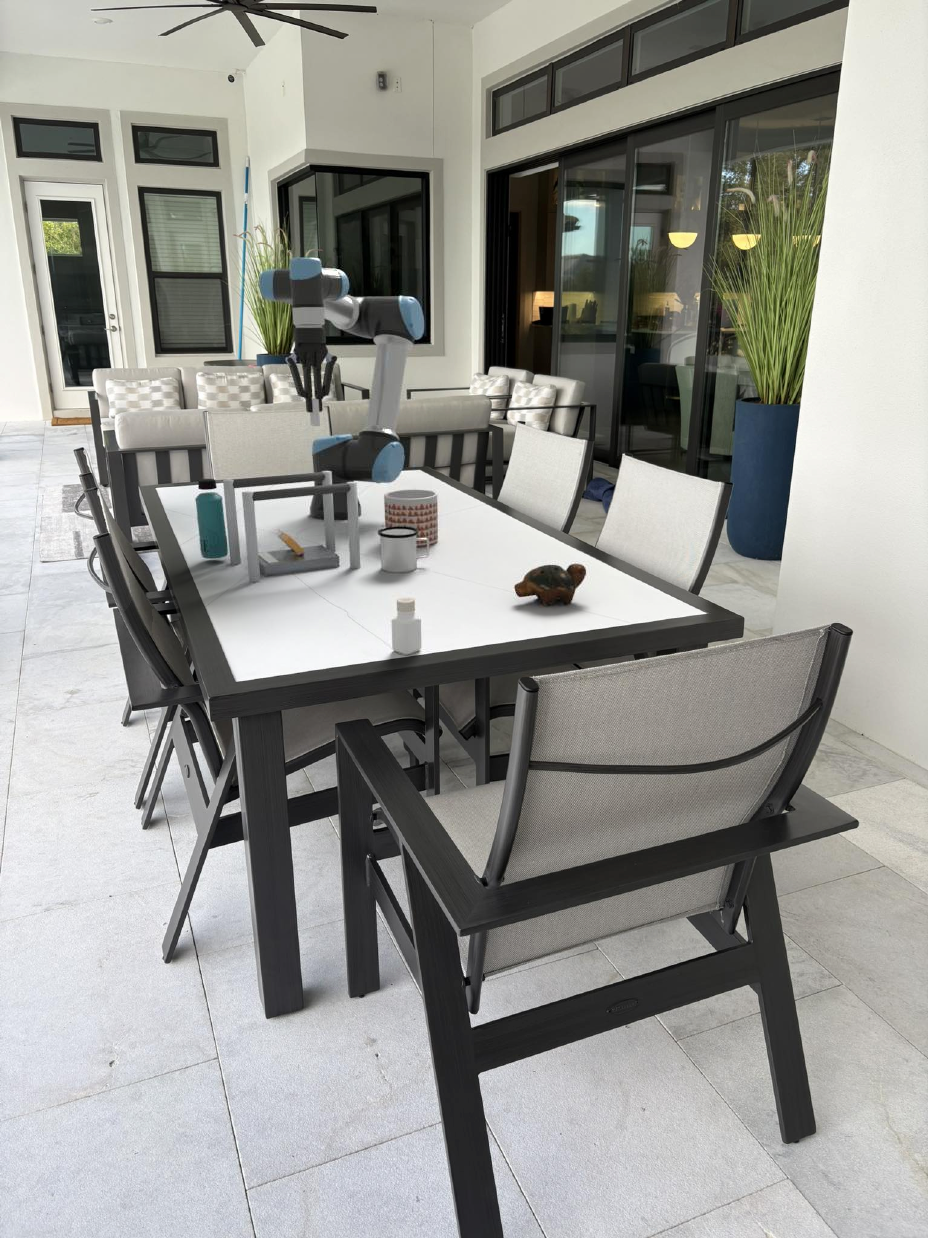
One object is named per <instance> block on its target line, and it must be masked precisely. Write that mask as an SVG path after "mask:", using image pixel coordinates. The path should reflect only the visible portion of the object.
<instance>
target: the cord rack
mask: <svg viewBox="0 0 928 1238" xmlns="http://www.w3.org/2000/svg"><path fill="white" fill-rule="evenodd" d="M314 481H322V486H314V485H313V486H302V487H291V488H280V489H279V488H278V489H269V490H268V489H267V490H260V491H259V490H258V491H242V492H241V495H242V496H241V498H242V508H243V509H242V510H243V519H244V520H243V521H244V533H245V543H246V544H245V545H246V555H247V557H246V558H247V568H248V578H249V579H248V580H249V583H259V582H261V572H260V569H259V557H258V553H259V549H258V545H259V544H258V534H257V533H258V532H257V522H256V510H255V502H260V501H261V502H262V501H267V500H268V501H269V500H280V499H289V498H300V497H308V496H309V497H311V496H312V497H313V495H322V494H323V507H324V519H323V523H324V539H325V547H326V548H328V549H329V550H331V551H332V552H334V553H335V552H336V537H335V536H336V534H335V533H336V532H335V520H334V511H333V493H342V492H347V508H348V519H347V528H348V529H347V530H348V546H349V547H348V548H349V549H348V550H349V551H348V552H349V568H351V569H360V568H361V550H360V549H361V548H360V547H361V545H360V528H359V527H360V526H359V525H360V524H359V516H358V499H359V498H357V497H358V481H354V482H347V483H343V484H333V485H332V473H331V471H322V472H318V473H314V472H308V473H296V474H286V475H285V474H283V475H274V476H273V475H272V476H263V477H251V478H250V477H249V478H238V479H227V478H226V479H222V484H223V496H224V505H225V516H226V529H227V538H228V539H227V541H228V552H229V558H230V559H229V560H230V564H231V565H233V566H234V565H236V566H237V565H240V564H242V560H241V550H240V539H239V538H240V537H239V535H240V534H239V526H238V516H237V515H238V512H237V503H236V491H235V489H240V488H241V489H243V488H252V487H253V488H256V487H264V486H265V487H266V486H275V485H287V484H288V485H289V484H298V483H311V482H314Z"/></svg>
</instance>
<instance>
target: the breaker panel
mask: <svg viewBox="0 0 928 1238" xmlns="http://www.w3.org/2000/svg"><path fill="white" fill-rule="evenodd" d="M301 548H302V549H303V550H304V551H303V552H304V555H301V554H300V555H298V554H297V553H296V552H295V551H294V550H292V549H290V548H287V549H278V550H273V551H272V550H271V551H263V552H258V557H259V569H260V574H261V575H263V576H264V577H271V576H279V575H284V574H285V575H287V574H292V573H299V572H300V573H301V572H308V571H314V570H315V571H316V570H323V569H329V568H336V567H340V555H338V554H336V553H335V552H332V551H331V550H329V549H328V548H326V546H325V545H322V544H320V545H311V546H303V547H302V546H301Z"/></svg>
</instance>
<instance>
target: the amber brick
mask: <svg viewBox="0 0 928 1238" xmlns="http://www.w3.org/2000/svg"><path fill="white" fill-rule="evenodd" d="M281 539H282V540H283V541H284V542H286V543H287V544H288V545H289V546H290V547H291V548H292V549H293V550H294V551H295V552H296V553H297V554H298V555H300V554H301V555H304V552H303V551H304V550H303V549H302V546H300V544H298V542H297V541H296V540H295V539H293V537H291V535H289V534H288V533H285V535H284V536H283V537H282V538H281ZM281 539H280V540H281ZM282 540H281V541H282ZM283 541H282V542H283ZM284 542H283V543H284Z"/></svg>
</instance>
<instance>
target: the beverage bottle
mask: <svg viewBox="0 0 928 1238" xmlns="http://www.w3.org/2000/svg"><path fill="white" fill-rule="evenodd" d="M197 484H198V487H197V488H198V490H202V491H204V490H205V491H206V492H200V493H199V494H198V495H197V496H196V497H195V500H194V501H195V507H196V516H197V517H196V520H197V526H198V528H197V529H198V536H199V537H198V539H199V548H200V556H201V557H202V558H204V559H211V560H212V559H213V560H214V559H221V558H225V557H227V556H228V553H229V545H228V539H227V538H228V536H227V533H226V532H227V531H226V522H225V513H224V504H223V496H221V495H220V493H218V492H215V491H214V492H213V491H211V490H215V489H217V488H218V487H217V483H216V479H214V478H201V479H198V483H197ZM207 490H208V491H209V490H210V492H208V491H207Z"/></svg>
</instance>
